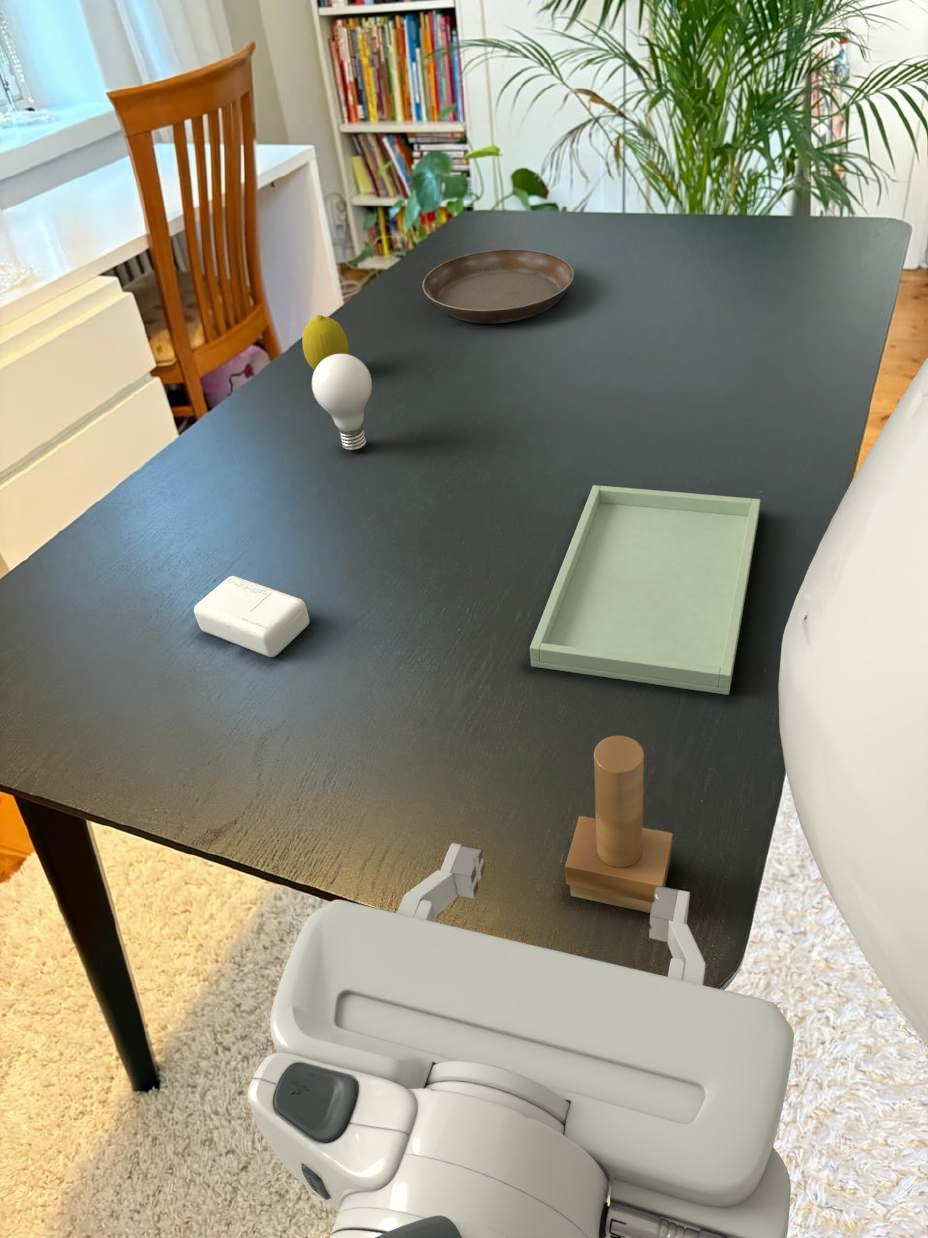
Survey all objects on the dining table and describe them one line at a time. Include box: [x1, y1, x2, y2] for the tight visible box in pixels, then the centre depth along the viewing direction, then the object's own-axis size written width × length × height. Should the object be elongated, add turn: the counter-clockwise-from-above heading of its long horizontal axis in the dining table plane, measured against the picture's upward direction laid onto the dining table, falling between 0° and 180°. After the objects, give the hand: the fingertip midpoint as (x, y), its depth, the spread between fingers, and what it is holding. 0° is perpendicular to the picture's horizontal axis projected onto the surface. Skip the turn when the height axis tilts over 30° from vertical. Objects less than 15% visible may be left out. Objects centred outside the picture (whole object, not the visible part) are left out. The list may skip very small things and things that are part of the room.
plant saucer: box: [422, 248, 575, 325], centre depth 133 cm, size 21×21×3 cm
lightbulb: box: [311, 353, 373, 452], centre depth 105 cm, size 6×6×11 cm
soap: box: [193, 575, 310, 658], centre depth 85 cm, size 9×6×3 cm, turn 58°
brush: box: [564, 735, 674, 914], centre depth 59 cm, size 6×4×12 cm, turn 72°
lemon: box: [301, 314, 349, 370], centre depth 120 cm, size 6×6×8 cm
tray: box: [529, 484, 761, 696], centre depth 84 cm, size 16×24×2 cm, turn 162°
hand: (567, 873), depth 44 cm, fingers open, 8 cm apart
